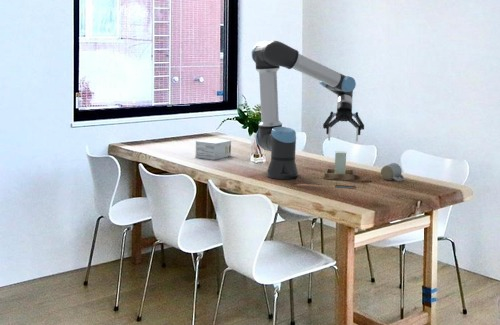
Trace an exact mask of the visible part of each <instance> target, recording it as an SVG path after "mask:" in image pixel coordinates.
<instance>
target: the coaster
mask: <svg viewBox="0 0 500 325" xmlns="http://www.w3.org/2000/svg"><path fill="white" fill-rule="evenodd" d="M334 188H336V189H337V188H338V189H350V190H351V189H353V190H354V189H355V190H356V186H355V185H345V184H344V185H342V184H334Z"/></svg>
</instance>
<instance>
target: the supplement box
mask: <svg viewBox="0 0 500 325" xmlns="http://www.w3.org/2000/svg"><path fill="white" fill-rule="evenodd" d="M228 156H229V157H231V156H232V140H229V139H220V138H209V139H203V140H197V141H195V158H198V159H199V158H200V159H206V160H214V161H215V160H220V159H223V158H228Z"/></svg>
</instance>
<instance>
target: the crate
mask: <svg viewBox="0 0 500 325" xmlns="http://www.w3.org/2000/svg"><path fill="white" fill-rule="evenodd" d="M355 170H356V169H347V168H345V172H346V173H345V174H334V172H335V168H325V170H324V176H323V177H324V180H337V181H339V180H340V181H355V178H356V176H355V175H356V171H355Z"/></svg>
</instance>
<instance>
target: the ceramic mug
mask: <svg viewBox="0 0 500 325" xmlns="http://www.w3.org/2000/svg"><path fill="white" fill-rule="evenodd" d="M402 172H403V171H402V167H401V166H400V165H399V164H398V163H395V162H391V163H389V164H387V165H384V166H383V167H382V168H381V170H380V175H381V178H382V179H383V180H384V181H392V180H394V181H397V182H399V183H400V182H401V181H402V182H403V181H404V179H405V176H404V175H403V174H402Z"/></svg>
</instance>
